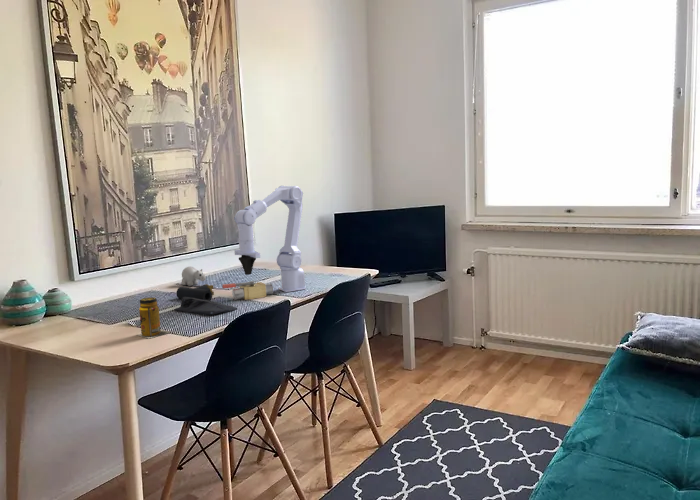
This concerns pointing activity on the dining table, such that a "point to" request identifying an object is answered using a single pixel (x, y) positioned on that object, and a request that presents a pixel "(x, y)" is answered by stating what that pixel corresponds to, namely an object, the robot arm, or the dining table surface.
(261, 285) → the valve
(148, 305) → the condiment
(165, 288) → the dining table surface
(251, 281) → the lever
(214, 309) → the dark slate chunk
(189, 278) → the chubby cartoon animal
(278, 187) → the robot arm
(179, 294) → the pipe connector
